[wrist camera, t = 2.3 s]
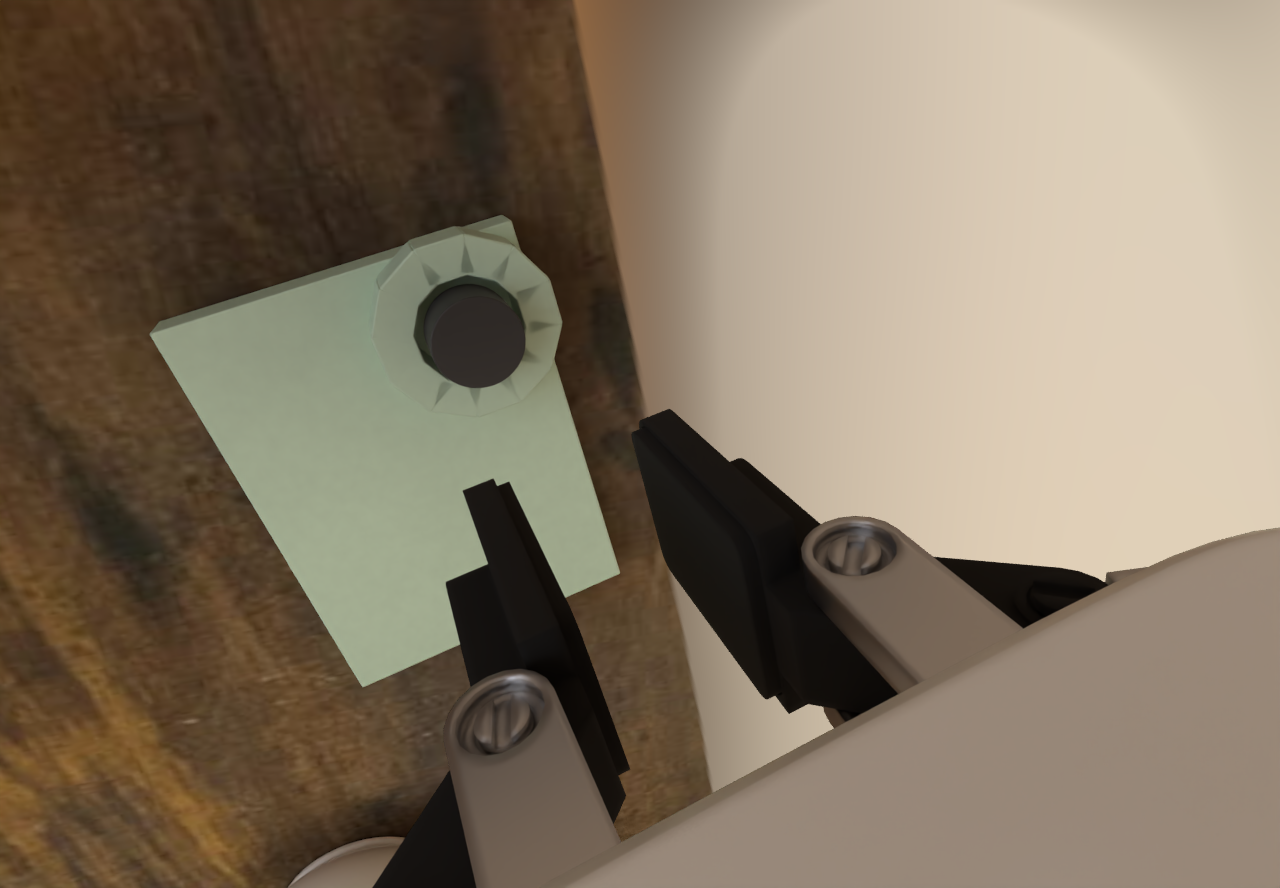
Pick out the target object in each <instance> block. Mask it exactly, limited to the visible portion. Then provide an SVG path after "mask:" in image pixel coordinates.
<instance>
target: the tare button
mask: <svg viewBox="0 0 1280 888" xmlns="http://www.w3.org/2000/svg"><path fill="white" fill-rule="evenodd" d="M423 329H424V337H425V341H426V344H427V346H428V348H429V351H430V353H431V356H432V358H433V360H434V362H435V364H436V366H437V368H438V369H439V370H440V372H441V373H442V374H443V375H444V376H445V377H447V378H448V379H449V380H451V381H452V382H454V383H456V384H458V385H461V386H464V387H469V388H485V387H490V386H493V385H496V384H498V383H500V382H502V381H503V380H505V379H506V378H508V377H509V376H510V375H511V374H512V373H513V372H514V371H515V370H516V369H517V367H518V366H519V364H520V362H521V360H522V358H523V355H524V352H525V346H526V337H525V331H524V327H523V325H522V322H521V320H520V319H519V317H518V316H517V314H516V313H515V312H514V311H513V310H512V308H511V307H510V306H509V305H508V304H507V303H506V302H505V301H504V299H503V298H502V297H501V296H500V295H498V294H497V293H496V292H494V291H493V290H491V289H489V288H487V287H484V286H481V285H476V284H462V285H457V286H454V287H451V288H449V289H447V290H445V291H443V292H442V293H441V294H439V295H438V296H437V297H436V298H435V299H434V300H433V302H432V303H431V304H430V306H429V308H428V310H427V312H426V315H425V319H424V326H423Z"/></svg>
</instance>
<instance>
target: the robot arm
mask: <svg viewBox="0 0 1280 888" xmlns="http://www.w3.org/2000/svg"><path fill="white" fill-rule="evenodd" d="M639 428H640V429H639V430H637V431H634V432H632V441H633V445H634V448H635V452H636V456H637V460H638V463H639V467H640V471H641V475H642V479H643V482H644V486H645V490H646V494H647V497H648V501H649V505H650V509H651V512H652V516H653V520H654V524H655V527H656V531H657V535H658V539H659V542H660V546H661V550H662V553H663V556H664V559H665V561H666V563H667V566H668V567H669V569H670V571H671V572H672V574H673V575H674V577H675V578H676V579H677V581H678V582H679V583H680V585H681V586H682V587H683V589H684V590H685V592H686V593H687V594H688V596H689V597H690V598H691V600H692V601H693V602H694V604H695V605H696V607H697V608H698V609H699V611H700V612H701V613H702V615H703V616H704V617H705V619H706V620H707V622H708V623H709V624H710V626H711V627H712V628H713V630H714V631H715V632H716V634H717V635H718V637H719V638H720V639H721V641H722V642H723V643H724V645H725V646H726V648H727V649H728V650H729V652H730V653H731V654H732V655H733V657H734V658H735V660H736V661H737V662H738V664H739V665H740V667H741V668H742V669H743V671H744V672H745V673H746V675H747V676H748V677H749V679H750V680H751V681H752V683H753V684H754V686H755V687H756V688H757V690H758V691H759V693H760V694H761V695H762V696H763V697H764V698H765V699H769V698H771V697H773V696H776V697H777V699H778V700H779V701H780V703H781V704H782V705H783V707H784V708H785V709H786V711H787V712H788V713H789V714H790V713H792V712H794V711H795V710H797V709H799V708H801V707H803V706H805V705H807V704H811V705H817V706H822V707H824V712H825V714H826V716H827V718H828V720H829V722H830V723H831V725H832V726H833V727H834V729H832V730H830V731H828V732H826V733H824V734H823V735H821V736H819V737H817V738H815V739H813V740H811V741H810V742H808V743H806V744H804V745H802V746H800V747H798V748H796V749H794V750H793V751H791V752H789V753H787V754H785V755H783V756H781V757H779V758H778V759H776V760H774V761H772V762H770V763H768V764H767V765H764V766H763V767H761V768H759V769H757V770H755V771H753V772H751V773H750V774H748V775H746V776H744V777H742V778H740V779H738V780H737V781H734V782H733V783H731V784H729V785H727V786H725V787H723V788H721V789H719V790H718V791H716V792H714V793H712V794H710V795H708V796H706V797H705V798H703V799H701V800H699V801H697V802H695V803H693V804H692V805H690V806H688V807H686V808H684V809H682V810H680V811H679V812H677V813H675V814H673V815H671V816H669V817H667V818H666V819H664V820H662V821H660V822H658V823H656V824H654V825H653V826H651V827H649V828H647V829H645V830H643V831H641V832H640V833H638V834H636V835H634V836H632V837H630V838H629V839H627V840H625V841H623V842H621V841H620V838H619V836H618V834H617V832H616V829H615V827H614V825H613V824H614V822H615V820H616V817H617V815H618V813H619V811H620V808H621V806H622V804H623V801H624V799H625V797H626V795H625V792H624V789H623V787H622V784H621V781H620V779H619V776H618V775H620V774H622V773H624V772H626V771H628V770H630V767H629V765H628V762H627V759H626V756H625V754H624V751H623V748H622V745H621V743H620V740H619V737H618V734H617V732H616V729H615V726H614V723H613V721H612V718H611V715H610V712H609V710H608V707H607V704H606V701H605V699H604V696H603V693H602V690H601V688H600V685H599V682H598V679H597V677H596V674H595V671H594V668H593V666H592V663H591V660H590V657H589V655H588V652H587V649H586V647H585V644H584V641H583V638H582V636H581V633H580V630H579V628H578V625H577V623H576V620H575V618H574V616H573V613H572V611H571V609H570V607H569V605H568V602H567V600H566V598H565V596H564V594H563V592H562V590H561V588H560V586H559V584H558V582H557V580H556V578H555V575H554V573H553V571H552V569H551V567H550V565H549V563H548V561H547V559H546V557H545V555H544V553H543V551H542V548H541V546H540V544H539V542H538V540H537V538H536V536H535V534H534V532H533V530H532V528H531V526H530V524H529V522H528V519H527V517H526V515H525V513H524V511H523V509H522V507H521V505H520V503H519V501H518V499H517V497H516V495H515V492H514V490H513V488H512V486H511V484H510V482H506V483H504V484H501V485H499V486H497V485H496V482H495V480H494V478H493V479H490V480H488V481H485V482H483V483H480V484H478V485H475V486H473V487H470V488H468V489H465V490H463V494H464V497H465V500H466V502H467V505H468V508H469V511H470V514H471V517H472V519H473V522H474V525H475V528H476V531H477V534H478V537H479V539H480V542H481V545H482V548H483V551H484V554H485V556H486V559H487V562H488V564H487V565H484V566H482V567H480V568H477V569H475V570H473V571H470V572H468V573H465V574H463V575H461V576H458V577H456V578H454V579H451V580H449V581H446V589H447V593H448V597H449V601H450V605H451V609H452V613H453V617H454V621H455V625H456V629H457V633H458V637H459V642H460V646H461V650H462V654H463V658H464V662H465V666H466V670H467V674H468V678H469V682H470V686H471V687H470V688H469V689H468V690H467V691H466V692H465V693H464V694H463V695H462V696H461V697H460V698H459V699H458V700H457V702H456V703H455V704H454V706H453V707H452V709H451V710H450V712H449V714H448V717H447V720H446V722H445V725H444V746H445V750H446V755H447V759H448V764H449V768H450V771H449V772H448V774H447V775H446V777H445V778H444V780H443V781H442V783H441V784H440V786H439V787H438V789H437V790H436V792H435V793H434V795H433V796H432V798H431V799H430V801H429V802H428V804H427V805H426V807H425V809H424V810H423V812H422V813H421V815H420V816H419V818H418V819H417V821H416V822H415V824H414V825H413V827H412V828H411V830H410V831H409V833H408V834H407V836H406V837H405V839H404V840H403V842H402V843H401V845H400V846H399V848H398V849H397V851H396V852H395V854H394V856H393V857H392V859H391V860H390V862H389V863H388V865H387V866H386V868H385V869H384V871H383V872H382V874H381V875H380V877H379V878H378V880H377V881H376V883H375V884H374V886H373V887H372V888H1280V528H1273V529H1266V530H1260V531H1253V532H1249V533H1245V534H1241V535H1237V536H1234V537H1230V538H1226V539H1222V540H1218V541H1214V542H1211V543H1208V544H1205V545H1202V546H1199V547H1197V548H1194V549H1191V550H1188V551H1185V552H1183V553H1180V554H1177V555H1174V556H1172V557H1169V558H1167V559H1165V560H1163V561H1161V562H1158V563H1156V564H1154V565H1152V566H1150V567H1145V568H1138V569H1130V570H1123V571H1115V572H1108V573H1107V574H1106V582H1103V581H1101V580H1099V579H1098V578H1096V577H1093V576H1090V575H1088V574H1085V573H1082V572H1079V571H1075V570H1068V569H1063V568H1056V567H1044V566H1033V565H1020V564H1009V563H997V562H986V561H975V560H963V559H952V558H940V557H933V556H931V555H930V554H929V553H928V552H926V551H925V550H924V549H922V548H921V547H920V546H919V545H917V544H916V543H915V542H914V541H913V540H911V539H910V538H909V537H907V536H906V535H905V534H904V533H902V532H901V531H900V530H899V529H897V528H896V527H894V526H892V525H890V524H889V523H887V522H885V521H881V520H878V519H875V518H871V517H859V516H851V517H842V518H837V519H834V520H831V521H827V522H825V523H823V524H820V523H818V522H817V521H816V520H815V519H814V518H813V517H812V516H810V515H809V514H808V513H807V512H806V511H805V510H803V509H802V508H801V507H800V506H799V505H797V504H796V503H795V502H794V501H793V500H792V499H790V498H789V497H788V496H787V495H786V494H785V493H783V492H782V491H781V490H780V489H779V488H778V487H777V486H775V485H774V484H773V483H772V482H771V481H769V480H768V479H767V478H766V477H765V476H764V475H763V474H761V473H760V472H759V471H758V470H757V469H756V468H754V467H753V466H752V465H751V464H750V463H749V462H747V461H746V460H744V459H742V458H738V459H736V460H734V461H731V462H729V461H728V460H727V459H726V458H724V457H723V456H722V455H721V454H720V453H719V452H718V451H717V450H716V449H714V448H713V447H712V446H711V445H710V444H709V443H708V442H707V441H706V440H704V439H703V438H702V437H701V436H700V435H699V434H698V433H696V431H694V430H693V429H692V428H691V427H690V426H689V425H688V424H686V423H685V422H684V421H683V420H682V419H681V418H680V417H679V416H678V415H677V414H675V413H674V412H673V411H672V410H670V409H668V410H665V411H662V412H660V413H657V414H655V415H652V416H650V417H647V418H645V419H642V420H640V422H639Z"/></svg>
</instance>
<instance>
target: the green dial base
mask: <svg viewBox="0 0 1280 888" xmlns="http://www.w3.org/2000/svg"><path fill="white" fill-rule="evenodd" d="M462 284H476V285H481V286H484V287H487V288H489V289H491V290H493V291H494V292H496V293H497V294H498V295H500V296H501V297H502V298H503V299H504V301H505V302H506V303H507V304H508V305H509V306H510V307H511V308H512V310H513V311H514V312H515V313H516V314H517V316H518V317H519V319H520V320H521V322H522V325H523V327H524V331H525V337H526V346H525V352H524V355H523V358H522V360H521V362H520V364H519V366H518V367H517V369H516V370H515V371H514V372H513V373H512V374H511V375H510V376H509V377H508V378H506V379H505V380H503V381H502V382H500V383H498V384H496V385H493V386H490V387H485V388H469V387H464V386H461V385H458V384H456V383H454V382H452V381H451V380H449V379H448V378H447V377H445V376H444V375H443V374H442V373H441V372H440V370H439V369H438V368H437V366H436V364H435V362H434V360H433V358H432V356H431V353H430V351H429V348H428V346H427V344H426V341H425V337H424V329H423V326H424V319H425V315H426V312H427V310H428V308H429V306H430V304H431V303H432V302H433V300H434V299H435V298H436V297H437V296H438V295H439V294H441V293H442V292H443V291H445V290H447V289H449V288H451V287H454V286H457V285H462ZM561 328H562V319H561V315H560V312H559V309H558V305H557V302H556V298H555V295H554V292H553V288H552V285H551V281H550V279H549V278H548V276H547V275H545V274H544V273H543V272H542V271H541V270H540V269H539V268H538V267H537V266H536V265H535V264H534V263H533V262H532V261H531V260H530V259H529V258H527V257H526V256H525V255H524V254H523V253H522V252H521V250H520V247H519V243H518V240H517V237H516V234H515V230H514V227H513V224H512V221H511V220H510V219H508V218H506V217H505V216H503V215H499V216H496V217H493V218H489V219H486V220H483V221H480V222H477V223H473V224H470V225H467V226H464V227H459V226H458V227H456V226H453V227H450V228H446V229H443V230H440V231H437V232H434V233H430V234H427V235H424V236H421V237H417V238H414V239H411V240H409V242H407V243H406V244H405V245H403V246H400V247H396V248H393V249H390V250H387V251H384V252H380V253H377V254H374V255H371V256H368V257H364V258H361V259H358V260H355V261H352V262H348V263H345V264H342V265H339V266H336V267H332V268H329V269H326V270H323V271H320V272H316V273H313V274H310V275H307V276H304V277H300V278H297V279H294V280H291V281H288V282H284V283H281V284H278V285H275V286H272V287H268V288H265V289H262V290H259V291H256V292H252V293H249V294H246V295H243V296H240V297H236V298H233V299H230V300H227V301H224V302H220V303H217V304H214V305H211V306H208V307H204V308H201V309H198V310H195V311H192V312H188V313H185V314H182V315H179V316H176V317H172V318H169V319H166V320H163V321H160V322H159V323H158V324H157V325H156V327H155V328H154V329H153V331H152V332H151V333H150V336H151V338H152V339H153V341H154V343H155V344H156V346H157V348H158V349H159V351H160V353H161V354H162V356H163V358H164V359H165V361H166V363H167V364H168V366H169V367H170V369H171V371H172V372H173V374H174V376H175V377H176V379H177V381H178V382H179V384H180V386H181V387H182V389H183V391H184V392H185V394H186V396H187V397H188V399H189V401H190V402H191V404H192V406H193V407H194V409H195V411H196V412H197V414H198V416H199V417H200V419H201V421H202V422H203V424H204V425H205V427H206V429H207V430H208V432H209V434H210V435H211V437H212V439H213V440H214V442H215V444H216V445H217V447H218V449H219V450H220V452H221V454H222V455H223V457H224V459H225V460H226V462H227V464H228V465H229V467H230V469H231V470H232V472H233V474H234V475H235V477H236V478H237V480H238V482H239V483H240V485H241V487H242V488H243V490H244V492H245V493H246V495H247V497H248V498H249V500H250V502H251V503H252V505H253V507H254V508H255V510H256V512H257V513H258V515H259V517H260V518H261V520H262V522H263V523H264V525H265V527H266V528H267V530H268V531H269V533H270V535H271V536H272V538H273V540H274V541H275V543H276V545H277V546H278V548H279V550H280V551H281V553H282V555H283V556H284V558H285V560H286V561H287V563H288V565H289V566H290V568H291V570H292V571H293V573H294V575H295V576H296V578H297V580H298V581H299V583H300V585H301V586H302V588H303V589H304V591H305V593H306V594H307V596H308V598H309V599H310V601H311V603H312V604H313V606H314V608H315V609H316V611H317V613H318V614H319V616H320V618H321V619H322V621H323V623H324V624H325V626H326V628H327V629H328V631H329V633H330V634H331V636H332V638H333V639H334V641H335V642H336V644H337V646H338V647H339V649H340V651H341V652H342V654H343V656H344V657H345V659H346V661H347V662H348V664H349V666H350V667H351V669H352V671H353V672H354V674H355V676H356V677H357V679H358V681H359V682H360V684H361V686H362V687H365V686H367V685H369V684H372V683H374V682H376V681H378V680H381V679H383V678H385V677H387V676H390V675H392V674H394V673H396V672H399V671H401V670H403V669H405V668H408V667H410V666H412V665H414V664H417V663H419V662H421V661H424V660H426V659H428V658H430V657H433V656H435V655H437V654H439V653H442V652H444V651H446V650H448V649H451V648H453V647H455V646H457V645H460V642H459V637H458V633H457V629H456V625H455V621H454V617H453V613H452V609H451V605H450V601H449V597H448V593H447V589H446V581H449V580H451V579H454V578H456V577H458V576H461V575H463V574H465V573H468V572H470V571H473V570H475V569H477V568H480V567H482V566H484V565H487V564H488V562H487V559H486V556H485V554H484V551H483V548H482V545H481V542H480V539H479V537H478V534H477V531H476V528H475V525H474V522H473V519H472V517H471V514H470V511H469V508H468V505H467V502H466V500H465V497H464V494H463V490H465V489H468V488H470V487H473V486H475V485H478V484H480V483H483V482H485V481H488V480H490V479H493V478H494V480H495V482H496V485H497V486H499V485H501V484H504V483H506V482H510V484H511V486H512V488H513V490H514V492H515V495H516V497H517V499H518V501H519V503H520V505H521V507H522V509H523V511H524V513H525V515H526V517H527V519H528V522H529V524H530V526H531V528H532V530H533V532H534V534H535V536H536V538H537V540H538V542H539V544H540V546H541V548H542V551H543V553H544V555H545V557H546V559H547V561H548V563H549V565H550V567H551V569H552V571H553V573H554V575H555V578H556V580H557V582H558V584H559V586H560V588H561V590H562V592H563V594H564V596H565V598H566V597H568V596H570V595H572V594H575V593H577V592H579V591H581V590H584V589H586V588H588V587H590V586H593V585H595V584H597V583H600V582H602V581H604V580H606V579H609V578H611V577H613V576H615V575H618V574H620V571H619V567H618V564H617V561H616V558H615V554H614V551H613V548H612V545H611V541H610V538H609V535H608V532H607V528H606V525H605V522H604V519H603V515H602V512H601V509H600V506H599V503H598V499H597V496H596V493H595V490H594V486H593V483H592V480H591V477H590V473H589V470H588V467H587V464H586V460H585V457H584V454H583V451H582V447H581V444H580V441H579V438H578V435H577V431H576V428H575V425H574V422H573V418H572V415H571V412H570V409H569V405H568V402H567V399H566V396H565V392H564V389H563V386H562V383H561V379H560V376H559V373H558V370H557V367H556V363H555V360H554V357H555V353H556V349H557V345H558V341H559V336H560V332H561Z"/></svg>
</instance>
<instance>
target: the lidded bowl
mask: <svg viewBox="0 0 1280 888" xmlns="http://www.w3.org/2000/svg"><path fill="white" fill-rule="evenodd" d="M404 839H405V838H403V837H376V838H370V839H364V840H360V841H357V842H353V843H350V844H347V845H344V846H342V847H339V848H337V849H335V850H333V851H331V852H329V853H327V854H325V855H323V856H322V857H320V858H318V859H317V860H315V861H314V862H312V863H311V864H310V865H309V866H307V867H306V868H305V869H304V870H303V871H302V872H301V873H300V874H299V875H298V876H297V877H296V878H295V879H294V880H293V881H292V883H291V884H290V885H289V887H288V888H372V887H373V886H374V884H375V883H376V881H377V880H378V878H379V877H380V875H381V874H382V872H383V871H384V869H385V868H386V866H387V865H388V863H389V862H390V860H391V859H392V857H393V856H394V854H395V852H396V851H397V849H398V848H399V846H400V845H401V843H402V842H403V840H404Z"/></svg>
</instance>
